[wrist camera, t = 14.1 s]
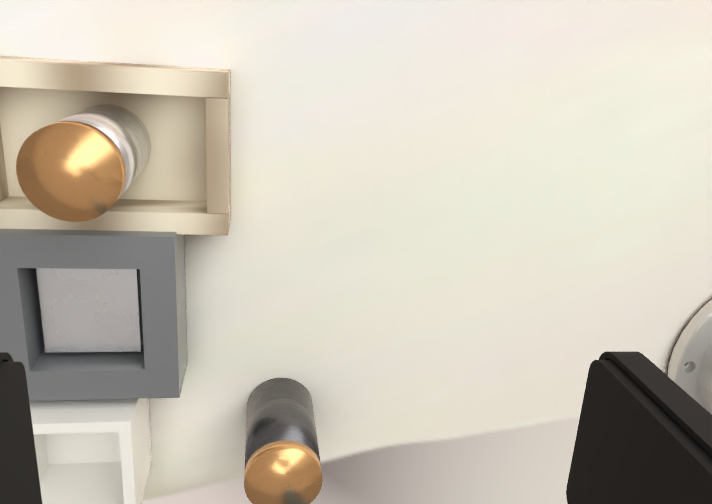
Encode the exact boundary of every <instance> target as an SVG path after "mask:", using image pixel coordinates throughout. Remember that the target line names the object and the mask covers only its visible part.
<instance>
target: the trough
mask: <svg viewBox="0 0 712 504" xmlns="http://www.w3.org/2000/svg"><path fill="white" fill-rule="evenodd" d="M100 104H111V105H116V106H120V107H123V108H125V109H127V110H129V111H130V112H132V113H133V114H134V115H136V116H137V117H138V118H139V119H140V120H141V121H142V123H143V124H144V126H145V127H146V129H147V131H148V134H149V136H150V140H151V155H150V159H149V161H148V164H147V166H146V167H145V168H144V170H143V171H142V172H141V173H140V174H139V176H138V177H137V178H136V179H135V180H134V181H133V183H132V184H131V185H130V186H129V187H128V188H127V189H126V191H125V192H124V193H123V194H122V195H121V196H120V198H119V199H118V200H117V201H116V202H115V203H114V204H113V206H112V207H111V208H110V209H109V210H108V211H106V212H105V213H104V214H102V215H101V216H99V217H97V218H94V219H91V220H88V221H82V222H68V221H62V220H59V219H55V218H53V217H51V216H48V215H46V214H45V213H43V212H41V211H40V210H39V209H37V208H36V207H35V206H34V205H33V204H32V203H31V202H30V201H29V200H28V199H27V197H26V196H25V194H24V193H23V191H22V189H21V187H20V185H19V182H18V179H17V173H16V161H17V156H18V153H19V150H20V148H21V146H22V144H23V143H24V141H25V140H26V139H27V138H28V137H29V136H30V135H31V134H32V133H34V132H35V131H37V130H38V129H40V128H43V127H45V126H47V125H50V124H52V123H54V122H57V121H59V120H61V119H63V118H66V117H68V116H70V115H73V114H75V113H77V112H80V111H82V110H84V109H87V108H89V107H91V106H95V105H100ZM229 225H230V70H226V69H209V68H192V67H175V66H158V65H142V64H125V63H108V62H91V61H74V60H57V59H40V58H23V57H6V56H0V229H47V230H101V231H154V232H177V234H187V235H228V231H229Z"/></svg>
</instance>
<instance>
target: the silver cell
mask: <svg viewBox="0 0 712 504" xmlns="http://www.w3.org/2000/svg"><path fill="white" fill-rule="evenodd" d="M150 155H151V140H150V136H149V134H148V131H147V129H146V127H145V126H144V124H143V123H142V121H141V120H140V119H139V118H138V117H137V116H136V115H134V114H133V113H132V112H130V111H129V110H127V109H125V108H123V107H120V106H116V105H111V104H100V105H95V106H91V107H89V108H87V109H84V110H82V111H80V112H77V113H75V114H73V115H70V116H68V117H66V118H63V119H61V120H59V121H57V122H54V123H52V124H50V125H47V126H45V127H43V128H40V129H38V130H37V131H35V132H34V133H32V134H31V135H30V136H29V137H28V138H27V139H26V140H25V141H24V143H23V144H22V146H21V148H20V150H19V153H18V156H17V161H16V173H17V179H18V182H19V185H20V187H21V189H22V191H23V193H24V194H25V196H26V197H27V199H28V200H29V201H30V202H31V203H32V204H33V205H34V206H35V207H36V208H37V209H39V210H40V211H41V212H43V213H45V214H46V215H48V216H51V217H53V218H55V219H59V220H62V221H68V222H82V221H88V220H91V219H94V218H97V217H99V216H101V215H102V214H104V213H105V212H106V211H108V210H109V209H110V208H111V207H112V206H113V204H114V203H115V202H116V201H117V200H118V199H119V198H120V196H121V195H122V194H123V193H124V192H125V191H126V189H127V188H128V187H129V186H130V185H131V184H132V183H133V181H134V180H135V179H136V178H137V177H138V176H139V174H140V173H141V172H142V171H143V170H144V168H145V167H146V166H147V164H148V161H149V159H150Z"/></svg>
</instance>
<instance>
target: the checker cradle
mask: <svg viewBox="0 0 712 504" xmlns="http://www.w3.org/2000/svg"><path fill="white" fill-rule="evenodd" d="M36 268H63V269H140V287H141V306H142V325H143V347H142V350H141V352H47V353H45V345H44V336H43V327H42V318H41V309H40V300H39V291H38V282H37V272H36ZM0 352H8V353H9V354H10V355H11V356H12V358H13V361H14V362H21V363H23V365H24V367H25V372H26V379H27V387H28V395H29V401H42V400H88V399H133V398H179V397H180V393H181V389H182V384H183V380H184V375H185V371H186V366H187V327H186V289H185V251H184V234H177V232H154V231H101V230H47V229H0Z"/></svg>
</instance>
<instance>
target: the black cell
mask: <svg viewBox="0 0 712 504" xmlns="http://www.w3.org/2000/svg"><path fill="white" fill-rule="evenodd" d="M321 486H322V472H321V464H320V457H319V450H318V443H317V435H316V428H315V421H314V413H313V406H312V400H311V396H310V394H309V392H308V390H307V389H306V388H305V387H304V386H303V385H302V384H300V383H299V382H297V381H295V380H292V379H287V378H275V379H271V380H268V381H265V382H263V383H262V384H260V385H259V386H257V387H256V388H255V389H254V391H253V392H252V393H251V395H250V397H249V399H248V403H247V426H246V452H245V479H244V487H245V492H246V495H247V497H248V498H249V500H250V501H251V502H252V503H253V504H310V503H311V502H312V501H313V500H314V499H315V498H316V496H317V495H318V493H319V491H320V489H321Z"/></svg>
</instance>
